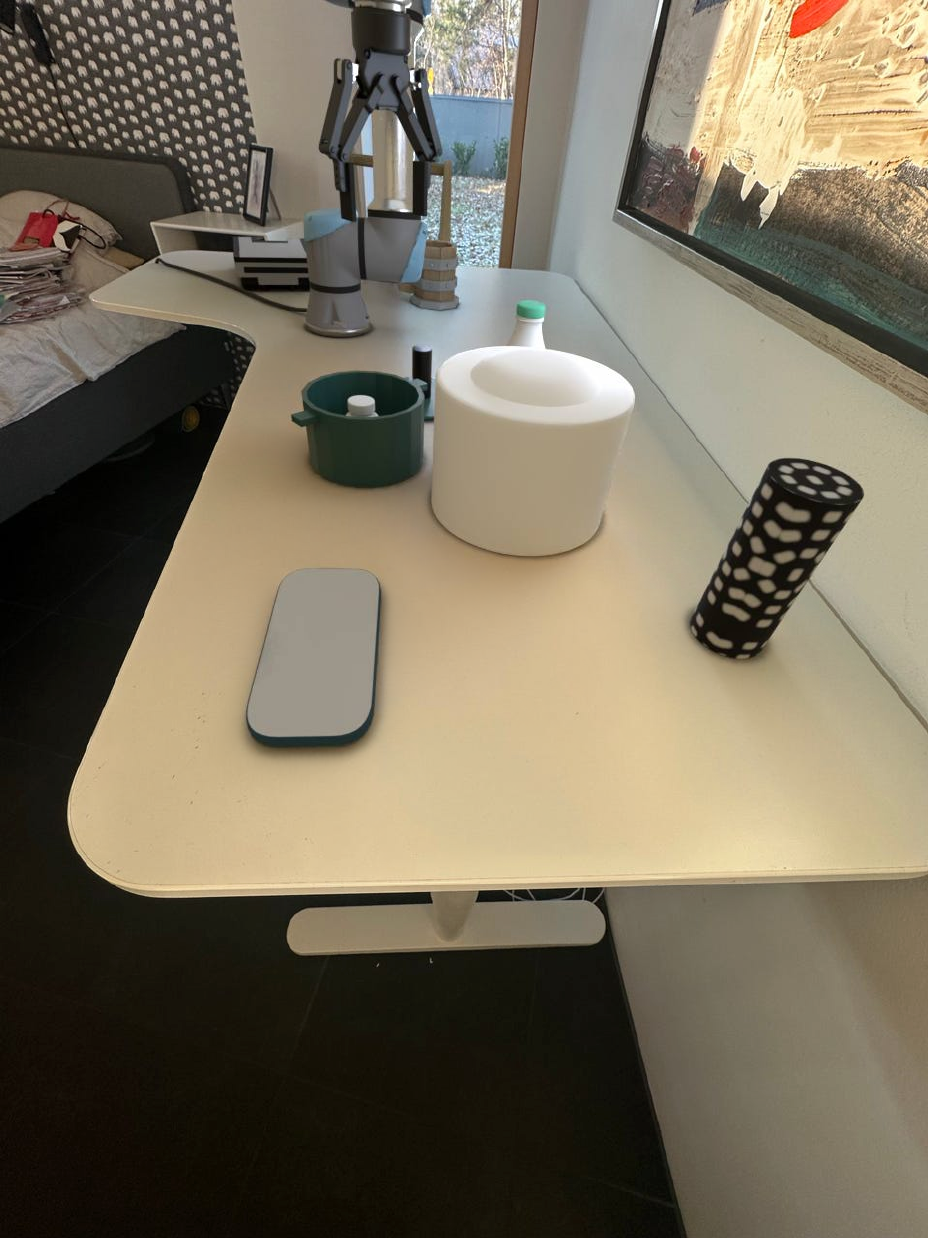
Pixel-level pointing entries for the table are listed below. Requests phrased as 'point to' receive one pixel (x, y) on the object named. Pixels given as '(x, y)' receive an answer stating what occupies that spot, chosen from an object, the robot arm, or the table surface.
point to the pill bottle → (361, 406)
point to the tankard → (435, 278)
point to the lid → (424, 376)
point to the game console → (271, 263)
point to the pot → (364, 428)
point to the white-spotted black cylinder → (773, 554)
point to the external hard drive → (318, 660)
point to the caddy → (436, 169)
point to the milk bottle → (528, 325)
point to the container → (526, 447)
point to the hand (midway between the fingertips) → (385, 217)
